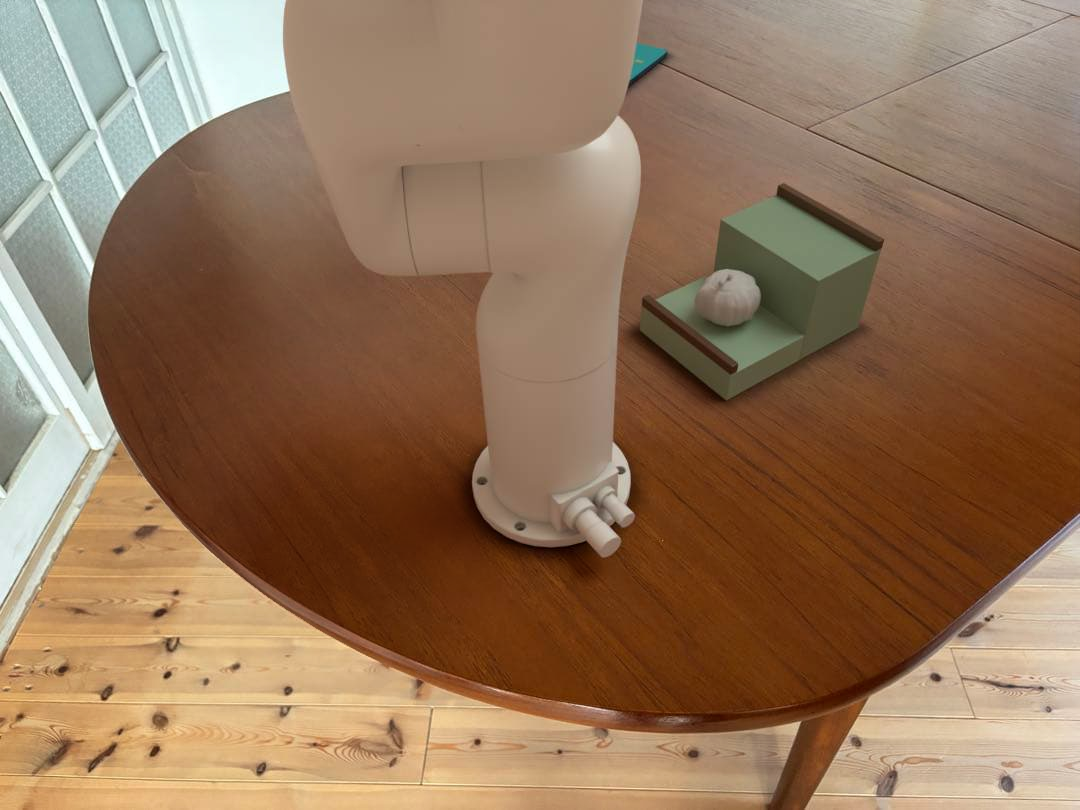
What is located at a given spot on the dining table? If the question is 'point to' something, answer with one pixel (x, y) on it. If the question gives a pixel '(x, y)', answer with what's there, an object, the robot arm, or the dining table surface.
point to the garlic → (728, 297)
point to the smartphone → (645, 60)
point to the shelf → (771, 292)
